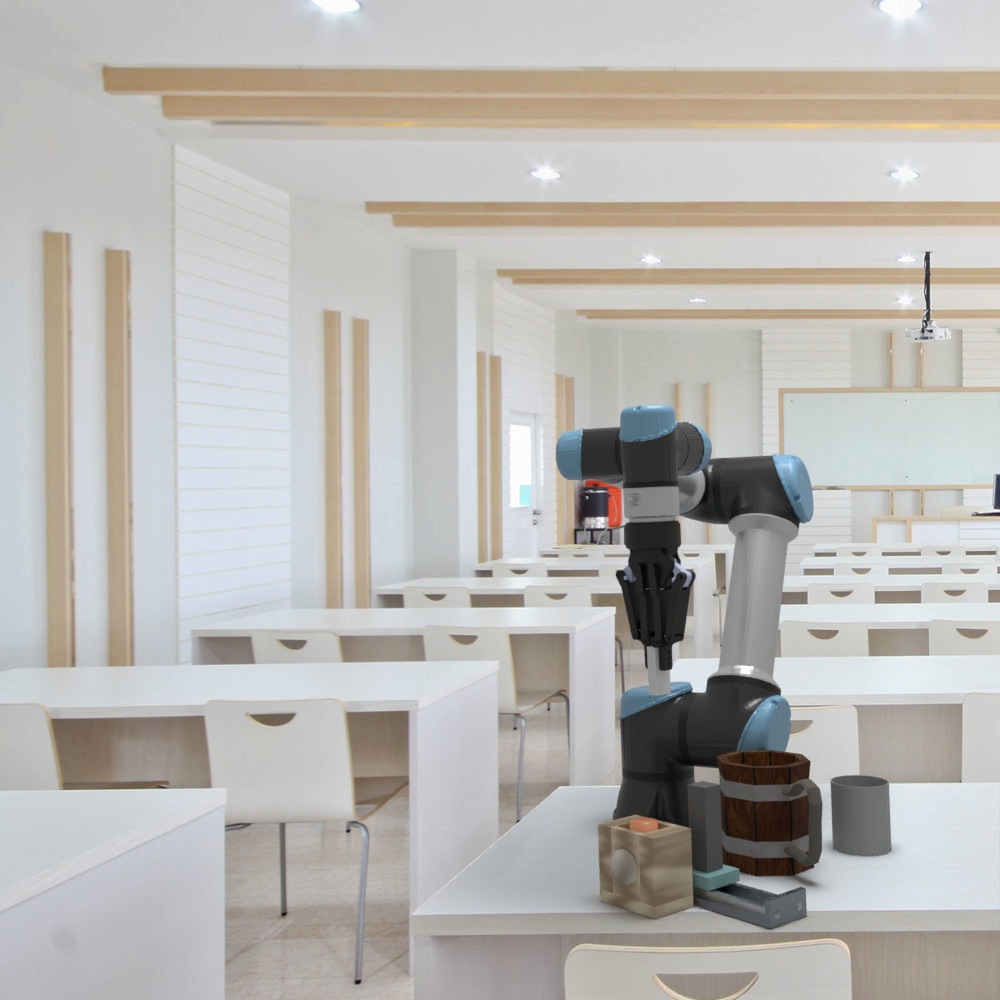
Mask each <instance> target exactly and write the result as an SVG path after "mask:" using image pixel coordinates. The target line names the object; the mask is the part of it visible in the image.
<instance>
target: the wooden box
mask: <svg viewBox="0 0 1000 1000" xmlns="http://www.w3.org/2000/svg"><path fill="white" fill-rule="evenodd" d="M642 817H643V816H639V815H633V816H629V817H625V818H621V819H616V820H613V819H612V820H609V821H605V822H601V823H598V824H597V835H598V836H597V838H598V841H597V843H598V871H599V873H598V874H599V901H600V902H603V903H606V904H609V905H611V906H612V905H613V906H616V907H619V908H621V909H624V910H626V911H629V912H630V911H631V912H633V913H635V914H640V915H642V916H644V917H648V918H650V919H654V920H657V919H659V918H663V917H667V916H669V915H672V914H675V913H678V912H681V911H684V910H687V909H691V908H694V905H693V876H692V845H691V828H687V827H683V826H679V825H675V824H671V823H667V822H663V821H659V820H658V830H655V831H651V832H647V833H641V832H637V831H633V830H630V820H631V819H634V818H642ZM646 818H647V817H646Z"/></svg>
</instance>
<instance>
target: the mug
mask: <svg viewBox="0 0 1000 1000" xmlns="http://www.w3.org/2000/svg"><path fill="white" fill-rule="evenodd" d="M717 761H718V768H717V769H718V773H719V774H718V776H719V784H720V795H721V825H722V855H723V864H724V865H727V866H731V867H735V868H738V869H739V873H740V874H745V875H748V876H753V877H791V876H792V877H795V876H797V875H799V874H802V873H804V872H807V871H809V870H811V869H814V868H815V864H819V863H820V858H821V855H822V852H823V826H822V825H823V824H822V821H823V799H822V793H821V789H820V786H818V785H817V784H816V783H815V782H814V781H813V780H812V779H811V778H810V771H811V764H812V763H811V760H810V759H808V758H807V757H806V756H805V755H804V754H803V753H795V752H789V751H785V752H783V751H776V750H751V751H735V752H731V753H727V754H723V755H719V756H717Z"/></svg>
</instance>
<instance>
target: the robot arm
mask: <svg viewBox="0 0 1000 1000" xmlns="http://www.w3.org/2000/svg"><path fill="white" fill-rule="evenodd" d="M619 415H620V416H619V426H616V427H614V426H613V427H602V428H601V427H600V428H599V427H598V428H586V429H585V428H583V427H582V428H580V429H575V430H574V429H573V430H569V431H565V432H563V433H561V435H560V436H559V438H558V439H557V441H556V445H555V462H556V467H557V469H558V471H559V473H560V475H561V476H562V477H563V478H564V479H566V480H569V481H580V482H584V481H586V480H591V481H596V482H601V483H603V484H606V485H609V486H612V487H616V488H618V489H621V490H622V493H623V494H622V498H623V516H624V518H626V519H628V522H626V523H625V524H624V525H623V526H624V542H625V548H626V550H627V549H628V551H629V557H628V558H627V559H628V560H627V566H625V567H624V568H623V569H621V570H620V569H619V570H616V572H615V578H616V581H618V583H619V585H620V587H621V593H622V596H623V598H622V599H623V602H624V606H625V612H626V615H627V620H628V625H629V630H630V635H631V638H632V640H634V641H637V640H638V642H640V643H641V644H642V646H643V650H644V654H643V655H644V656H643V657H644V666H645V670H646V669H647V678H648V681H647V682H648V684H647V685H642V686H636V687H632V688H629V689H626V691H624V692H623V693H622V694H621V697H620V708H619V710H620V711H619V717H618V718H619V723H620V724H619V725H620V726H619V727H620V750H621V751H620V752H621V754H620V755H621V771H622V772H621V784H620V789H619V791H618V796H617V799H616V800H617V801H616V807H615V808H614V809H613V813H612V820H616V819H621V818H625V817H629V816H633V815H639V816H643V817H647V818H654V819H656V820H659V821H663V822H667V823H671V824H675V825H679V826H683V827H687V828H689V814H688V784H692V783H696V780H695V767H698V768H710V769H719V768H718V761H717V756H719V755H723V754H727V753H731V752H735V751H751V750H776V751H783V752H787V748H788V745H789V741H790V735H791V729H792V721H791V717H792V711H791V706H790V703H789V701H788V700H787V699H786V698H785V697H783V696H782V687H780V685H779V684H778V683H777V682H776V681H775V679H774V669H775V660H776V653H777V652H776V651H777V645H778V643H777V642H778V634H779V627H780V626H779V623H780V617H781V606H782V597H783V589H784V580H785V572H786V563H787V553H788V546H789V543H791V542H792V541H794V540H795V539H797V538H798V536H799V529H800V524H803V525H804V524H806V523H809V522H810V521H812V519H813V516H814V494H813V493H814V492H813V489H812V488H813V487H812V483H811V478H810V475H809V471H808V468H807V466H806V465H805V463H804V461H803V460H802V458H800V457H799V456H797V455H795V454H777V453H772V455H770V454H769V455H756V456H752V455H751V456H735V457H715V458H712V453H713V451H712V450H713V446H712V445H713V444H712V440H711V438H710V436H709V435H708V433H707V432H706V431H705V430H704V429H703V428H702V427H701V426H699V425H697V424H694V423H690V422H689V421H683V422H678V421H677V420H676V419H677V418H676V412H675V409H674V407H673V406H671V405H669V404H646V405H645V404H644V405H633V406H627V407H625V408H623V409H622V411H621V412H620V414H619ZM679 516H680V517H683V518H685V519H689V520H693V521H697V522H702V523H705V524H713V525H728V530H729V531H730V533H731V534H732V535H733V536H734V538H735V541H734V548H733V555H732V556H733V557H732V564H731V572H730V580H729V587H728V594H727V602H726V610H725V616H724V617H725V618H724V624H723V633H722V639H721V640H722V641H721V645H720V646H721V647H720V654H719V655H720V656H719V663H718V669H717V671H715V672H714V673H712V674H711V675H709V676H708V677H707V680H706V686H705V691H704V692H694V688H693V686H692V683H691V682H690V681H671V670H673V666H674V663H673V645H674V644H677V643H679V642H682V641H683V640H684V638H685V631H686V627H687V626H686V624H687V617H688V610H689V602H690V596H691V588H692V587H693V584H694V582H695V581H696V577H697V576H696V572H695V571H692V570H689V571H688V570H686V568H685V567H683V566H682V565H681V564H682V560H681V557H680V556H679V551H678V550H679V548H680V547H681V546H682V534H681V533H682V530H681V522H680V521H679V520H678V519H676V518H677V517H679Z"/></svg>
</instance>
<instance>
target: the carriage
mask: <svg viewBox="0 0 1000 1000" xmlns="http://www.w3.org/2000/svg"><path fill="white" fill-rule="evenodd" d="M688 814H689V828H691V845H692V876H693V886H694V887H698V888H701V889H704V890H708V891H710V890H713V889H716V888H720V887H723V886H726V885H729V884H732V883H738V882H740V879H741V877H740V874H741V873H739V869H738V868H735V867H731V866H727V865H724V864H723V855H722V825H721V795H720V783H714V782H710V781H705V780H701V781H698V782H696V781H695V783H692V784H688Z"/></svg>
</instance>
